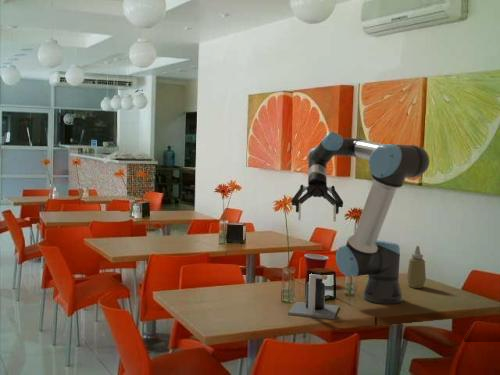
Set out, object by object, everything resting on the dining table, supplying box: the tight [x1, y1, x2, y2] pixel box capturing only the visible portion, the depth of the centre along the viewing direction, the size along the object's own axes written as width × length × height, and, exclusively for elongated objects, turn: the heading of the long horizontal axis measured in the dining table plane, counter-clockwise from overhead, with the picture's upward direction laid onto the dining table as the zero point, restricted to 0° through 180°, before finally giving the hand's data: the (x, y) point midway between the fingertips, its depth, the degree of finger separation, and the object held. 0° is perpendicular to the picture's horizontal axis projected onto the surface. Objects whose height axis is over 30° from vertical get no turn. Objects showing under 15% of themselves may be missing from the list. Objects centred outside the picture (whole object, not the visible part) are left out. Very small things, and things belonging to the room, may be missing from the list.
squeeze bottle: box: [406, 245, 427, 289], centre depth 261 cm, size 8×8×18 cm
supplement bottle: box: [305, 274, 326, 310], centre depth 217 cm, size 7×7×12 cm
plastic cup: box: [304, 253, 329, 270], centre depth 265 cm, size 11×11×12 cm
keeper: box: [287, 273, 340, 320], centre depth 216 cm, size 16×16×15 cm
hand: (317, 218), depth 232 cm, fingers open, 13 cm apart
